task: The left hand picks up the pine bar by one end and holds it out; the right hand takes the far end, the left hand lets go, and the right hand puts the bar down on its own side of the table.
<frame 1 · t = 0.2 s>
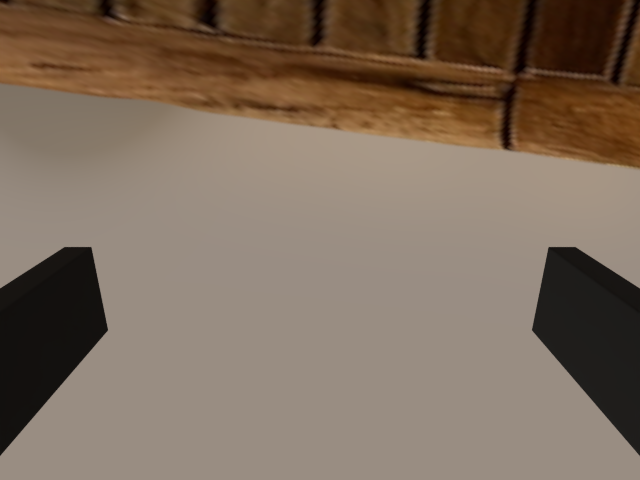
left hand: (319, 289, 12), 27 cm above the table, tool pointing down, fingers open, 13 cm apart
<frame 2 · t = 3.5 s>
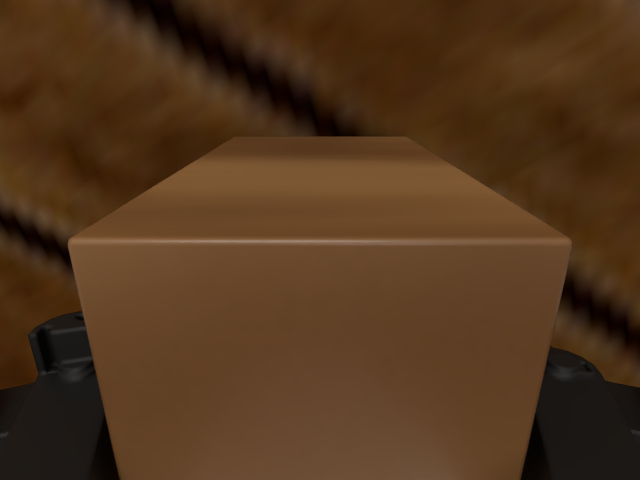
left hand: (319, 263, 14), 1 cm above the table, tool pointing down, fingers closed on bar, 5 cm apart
bar: (320, 432, 17), on the table, touching left hand
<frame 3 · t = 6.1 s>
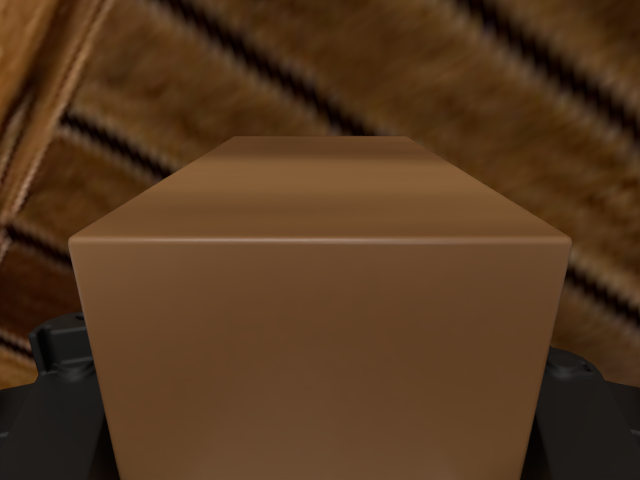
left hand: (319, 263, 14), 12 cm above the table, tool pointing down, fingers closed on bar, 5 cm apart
bar: (320, 432, 17), point 12 cm above the table, touching left hand
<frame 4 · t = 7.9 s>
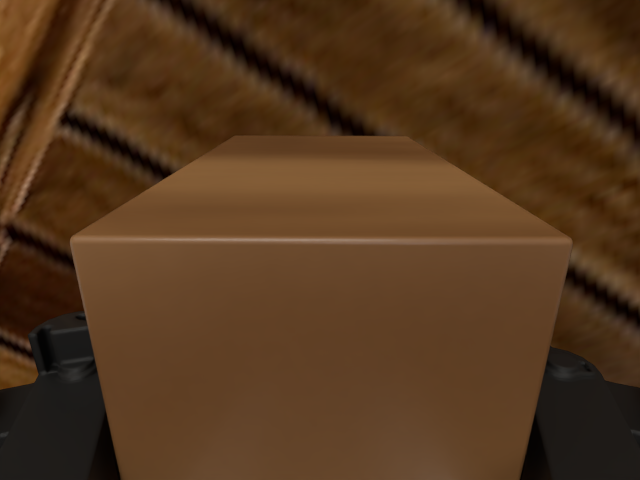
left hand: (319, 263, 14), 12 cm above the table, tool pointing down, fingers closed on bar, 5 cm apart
bar: (319, 431, 17), point 12 cm above the table, touching left hand, right hand
when the left hand's fingers open (12 cm above the table, at t = 8.9 s): bar stays where it is, held by the right hand.
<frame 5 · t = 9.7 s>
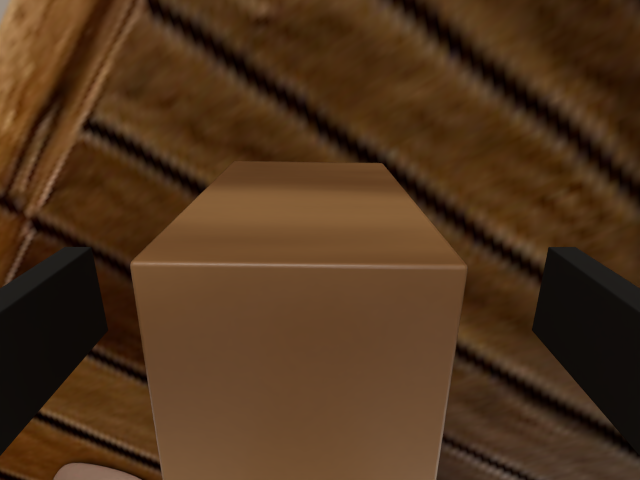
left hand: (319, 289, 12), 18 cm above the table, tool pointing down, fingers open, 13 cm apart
bar: (306, 418, 20), point 14 cm above the table, touching right hand
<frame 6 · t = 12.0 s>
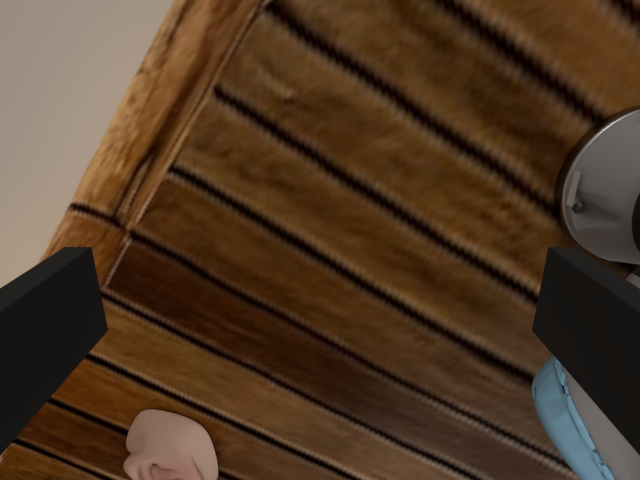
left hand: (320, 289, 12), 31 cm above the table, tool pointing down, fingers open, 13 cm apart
anatomical model: (173, 449, 54), on the table
when the right hand's fingers open (6 cm above the table, at t = 16.4 s): bar drops 2 cm, on the table.
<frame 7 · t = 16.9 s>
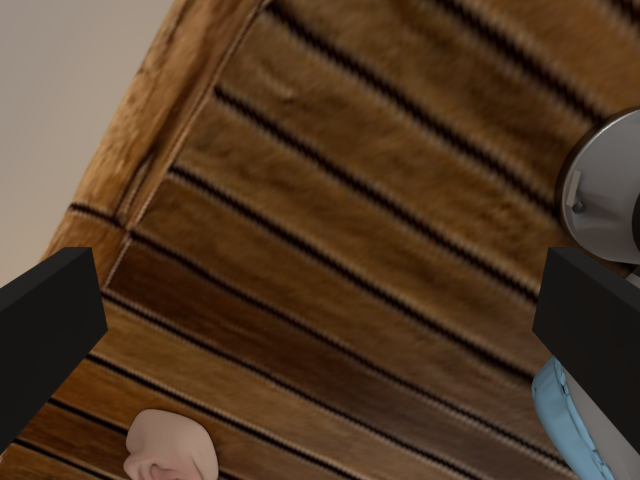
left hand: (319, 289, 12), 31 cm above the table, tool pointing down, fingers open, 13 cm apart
anatomical model: (173, 449, 54), on the table
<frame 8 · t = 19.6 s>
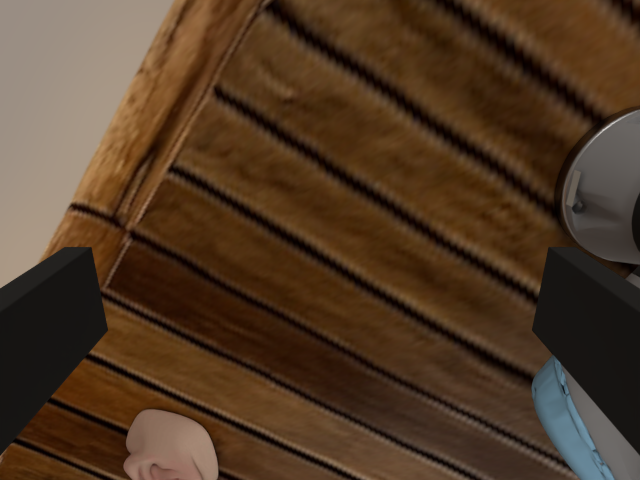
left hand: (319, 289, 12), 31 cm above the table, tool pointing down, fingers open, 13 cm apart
anatomical model: (173, 449, 54), on the table
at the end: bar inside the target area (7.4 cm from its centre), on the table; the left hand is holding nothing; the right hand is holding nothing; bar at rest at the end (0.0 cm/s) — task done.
